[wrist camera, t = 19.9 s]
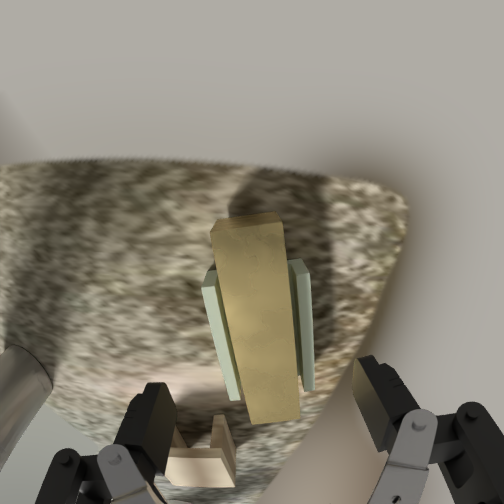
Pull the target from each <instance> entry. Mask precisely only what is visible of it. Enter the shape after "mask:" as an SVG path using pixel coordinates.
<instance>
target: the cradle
mask: <svg viewBox="0 0 504 504" xmlns="http://www.w3.org/2000/svg"><path fill="white" fill-rule="evenodd" d="M287 266H288V276H289V285H290V295H291V305H292V316H293V327H294V338H295V350H296V362H297V375H298V376H299V375H300V376H301V380H302V384H303V389H304V392H307V391H312V390H315V376H314V341H313V319H312V301H311V285H310V273H309V271H308V269H307V267H306V266H305V264H304V262H303V261H302V259H301V258H299V259H292V260H287ZM201 289H202V293H203V298H204V302H205V306H206V311H207V315H208V319H209V323H210V327H211V331H212V335H213V339H214V343H215V347H216V351H217V355H218V359H219V363H220V366H221V370H222V374H223V377H224V381H225V385H226V388H227V392H228V395H229V399H230V401H235V400H241V380H240V375H239V371H238V367H237V362H236V358H235V354H234V349H233V345H232V340H231V336H230V331H229V327H228V322H227V317H226V313H225V308H224V303H223V298H222V293H221V288H220V283H219V278H218V273H217V270H213V271H207V274H206V276H205V279H204V282H203V284H202V287H201Z"/></svg>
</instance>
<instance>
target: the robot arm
mask: <svg viewBox="0 0 504 504" xmlns="http://www.w3.org/2000/svg"><path fill="white" fill-rule="evenodd" d="M352 390H353V395H354V397H355V400H356V402H357V405H358V407H359V409H360V411H361V414H362V416H363V418H364V420H365V423H366V425H367V427H368V429H369V432H370V434H371V437H372V439H373V441H374V444H375V446H376V448H377V451H378V452H382V451H384V450H387V452H388V454H389V457H388V459H387V462H386V464H385V466H384V469H383V471H382V473H381V476H380V478H379V480H378V482H377V485H376V487H375V489H374V491H373V493H372V495H371V497H370V499H369V501H368V503H367V504H418V503H419V501H420V498H421V495H422V492H423V489H424V486H425V483H426V480H427V477H428V473H429V469H427V466H428V464H434V463H438V465H439V467H440V470H441V472H442V474H443V476H444V479H445V481H446V483H447V486H448V488H449V490H450V493H451V495H452V498H453V500H454V503H455V504H504V435H503V434H502V432H501V430H500V429H499V427H498V426H497V424H496V423H495V422H494V420H493V419H492V417H491V416H490V414H489V413H488V412H487V410H486V409H485V408H484V406H482V405H481V404H480V403H477V402H467V403H464V404H462V405H461V406H460V407H459V408H458V410H457V412H456V413H453V414H447V415H440V416H435V415H434V414H433V413H432V412H430V411H428V410H425V409H421V408H420V407H419V405H418V404H417V402H416V401H415V399H414V398H413V396H412V395H411V393H410V392H409V390H408V389H407V387H406V386H405V385H404V383H403V381H402V380H401V379H400V378H399V375H398V374H397V372H396V371H395V369H394V368H392V367H390V366H389V365H387V364H386V363H383V364H380V365H379V364H378V362H377V361H376V359H375V357H374V356H373V355H369V356H365V357H361V358H357V359H355V360H354V369H353V380H352ZM51 392H52V384H51V381H50V379H49V377H48V375H47V373H46V372H45V370H44V368H43V367H42V366H41V365H40V363H39V362H38V361H37V360H36V359H35V358H34V357H33V356H32V355H31V354H30V353H29V352H27V351H26V350H25V349H23V348H21V347H19V346H16V345H11V346H9V347H8V348H7V349H6V350H5V351H4V352H3V353H2V354H1V355H0V472H1V470H2V468H3V466H4V464H5V463H6V461H7V459H8V458H9V456H10V454H11V453H12V451H13V449H14V448H15V446H16V444H17V443H18V441H19V440H20V438H21V437H22V435H23V433H24V432H25V430H26V429H27V427H28V426H29V424H30V423H31V421H32V420H33V418H34V417H35V415H36V414H37V412H38V411H39V409H40V408H41V406H42V405H43V404H44V402H45V401H46V399H47V398H48V396H49V395H50V394H51ZM176 420H177V409H176V406H175V403H174V401H173V399H172V397H171V394H170V392H169V390H168V387H167V385H166V384H165V383H164V382H157V383H147V384H146V386H145V389H144V391H143V394H137V395H136V396H135V397H134V398H133V399H132V400H131V402H130V404H129V406H128V409H127V412H126V413H125V416H124V419H123V421H122V423H121V426H120V428H119V431H118V433H117V436H116V438H115V441H114V443H113V444H112V445H108V446H106V447H104V448H103V449H102V450H101V451H100V452H99V454H98V455H90V456H80V455H79V454H78V453H77V451H75V450H73V449H70V448H65V449H62V450H60V451H58V452H57V453H56V454H55V456H54V458H53V460H52V462H51V464H50V467H49V469H48V472H47V474H46V477H45V479H44V481H43V484H42V486H41V489H40V491H39V494H38V497H37V499H36V502H35V504H75V503H76V504H110V503H111V504H168V502H167V501H166V499H165V498H164V496H163V495H162V493H161V492H160V490H159V489H158V487H157V486H156V484H155V483H154V478H155V475H156V476H165V471H166V466H167V461H168V457H169V452H170V447H171V443H172V438H173V434H174V429H175V425H176ZM78 493H79V494H78ZM77 496H78V498H77ZM111 499H113V500H112V501H111ZM76 500H77V501H76Z"/></svg>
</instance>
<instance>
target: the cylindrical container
mask: <svg viewBox="0 0 504 504" xmlns="http://www.w3.org/2000/svg"><path fill="white" fill-rule="evenodd" d="M167 502H168V504H191V503H188V502H184V501H179V500H167Z"/></svg>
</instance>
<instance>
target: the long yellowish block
mask: <svg viewBox="0 0 504 504" xmlns="http://www.w3.org/2000/svg"><path fill="white" fill-rule="evenodd" d="M210 236H211V242H212V247H213V252H214V258H215V263H216V268H217V273H218V278H219V283H220V288H221V293H222V298H223V303H224V308H225V313H226V317H227V322H228V327H229V331H230V336H231V340H232V345H233V349H234V354H235V358H236V362H237V367H238V371H239V375H240V380H241V384H242V388H243V392H244V396H245V400H246V404H247V408H248V412H249V416H250V420H251V424H252V425H254V424H264V423H272V422H280V421H287V420H294V419H300V405H299V390H298V375H297V362H296V350H295V338H294V327H293V316H292V305H291V295H290V285H289V276H288V266H287V257H286V249H285V240H284V232H283V223H282V221H281V219H280V218H279V216H278V214H277V213H276V211H273V212H266V213H259V214H252V215H245V216H238V217H231V218H225V219H218V220H217V221H216V223H215V224H214V226H213V228H212V229H211V231H210Z"/></svg>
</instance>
